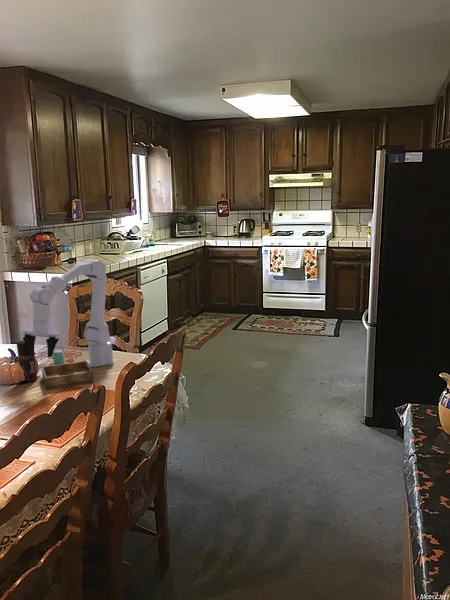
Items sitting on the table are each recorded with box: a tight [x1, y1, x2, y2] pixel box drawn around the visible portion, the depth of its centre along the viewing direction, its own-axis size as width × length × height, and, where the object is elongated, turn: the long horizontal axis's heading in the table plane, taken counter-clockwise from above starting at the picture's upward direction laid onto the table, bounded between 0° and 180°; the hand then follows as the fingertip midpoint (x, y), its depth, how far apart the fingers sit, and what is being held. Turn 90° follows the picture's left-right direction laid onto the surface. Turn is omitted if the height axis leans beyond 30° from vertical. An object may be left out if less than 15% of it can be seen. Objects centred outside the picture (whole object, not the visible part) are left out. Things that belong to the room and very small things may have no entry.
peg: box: [52, 349, 65, 365], centre depth 212 cm, size 4×4×8 cm
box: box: [41, 360, 94, 391], centre depth 201 cm, size 17×14×4 cm
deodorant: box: [16, 339, 38, 383], centre depth 201 cm, size 6×6×15 cm
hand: (40, 355), depth 197 cm, fingers open, 7 cm apart
